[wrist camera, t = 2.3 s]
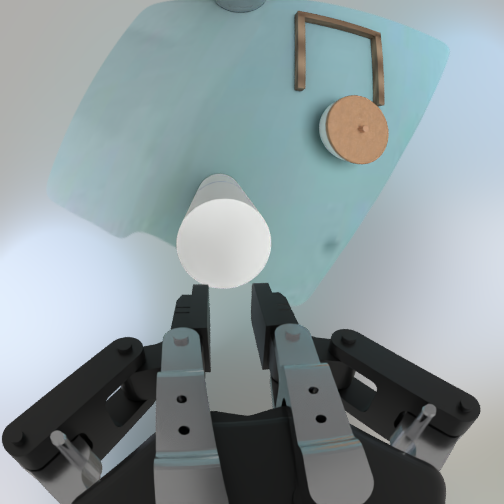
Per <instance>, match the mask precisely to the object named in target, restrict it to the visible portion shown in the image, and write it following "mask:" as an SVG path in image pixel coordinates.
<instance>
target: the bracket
mask: <svg viewBox="0 0 504 504" xmlns="http://www.w3.org/2000/svg"><path fill="white" fill-rule="evenodd" d="M305 22H307V23H312V24H317V25H322V26H326V27H331V28H335V29H338V30H342V31H346V32H350V33H353V34H356V35H360V36H363V37H366V38H369V39H371V51H372V68H373V103H374V104H376V105H377V106H382V105H384V72H383V56H382V44H381V34H380V33H379V32H376V31H373V30H370V29H367V28H364V27H361V26H358V25H355V24H352V23H348V22H345V21H341V20H337V19H334V18H330V17H325V16H321V15H317V14H312V13H307V12H302V11H297V13H296V14H295V90H298V91H302V90H304V89H305V64H306V62H305Z"/></svg>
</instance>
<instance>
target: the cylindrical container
mask: <svg viewBox="0 0 504 504" xmlns="http://www.w3.org/2000/svg"><path fill="white" fill-rule="evenodd" d="M176 247H177V253H178V257H179V260H180V262H181V264H182V266H183V267H184V269H185V270H186V272H187V273H188V274H189V275H190V276H191V277H192V278H193V279H195V280H197V281H198V282H200V283H201V284H208V286H209V287H213V288H221V289H226V288H234V287H237V286H241V285H243V284H245V283H247V282H249V281H251V280H252V279H253V278H254V277H256V276H257V275H258V274H259V273H260V272H261V270H262V269H263V268H264V266H265V264H266V263H267V261H268V258H269V255H270V250H271V235H270V232H269V228H268V226H267V224H266V222H265V220H264V218H263V217H262V216H261V214H260V213H259V212H258V210H257V209H256V207H255V206H254V205H253V203H252V202H251V201H250V199H249V198H248V197H247V195H246V194H245V192H244V191H243V190H242V188H241V187H240V186H239V184H238V183H237V182H236V181H235V180H234V179H233V178H232V177H230V176H228V175H225V174H214V175H211V176H209V177H207V178H206V179H205V180H204V181H203V182H202V183H201V184H200V186H199V188H198V190H197V192H196V194H195V196H194V198H193V201H192V203H191V205H190V207H189V209H188V211H187V213H186V215H185V217H184V220H183V222H182V224H181V226H180V228H179V231H178V235H177V246H176Z"/></svg>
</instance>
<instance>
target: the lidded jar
mask: <svg viewBox="0 0 504 504" xmlns="http://www.w3.org/2000/svg"><path fill="white" fill-rule="evenodd" d="M319 133H320V137H321V140H322V142H323V144H324V146H325V147H326V149H327V150H328V151H329V152H330V153H332V154H333V155H334V156H336V157H337V158H339V159H342V160H344V161H348V162H351V163H355V164H368V163H371V162H373V161H375V160H376V159H378V158H379V157H380V156H381V155H382V153H383V152H384V150H385V148H386V145H387V142H388V126H387V122H386V119H385V117H384V115H383V113H382V111H381V110H380V109H379V108H378V106H377V105H376V104H374V103H373V102H372V101H370V100H369V99H367V98H365V97H362V96H356V95H351V96H346V97H344V98H341V99H339V100H338V101H336V102H334V103H332V104H331V105H330V106H329V107H328V108H326V110H325V111H324V113H323V114H322V116H321V119H320V122H319Z"/></svg>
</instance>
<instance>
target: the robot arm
mask: <svg viewBox="0 0 504 504" xmlns="http://www.w3.org/2000/svg"><path fill="white" fill-rule="evenodd" d="M215 1H216V3H217V4H218V5H219V6H221V7H222V8H224V9H226V10H229V11H233V12H248V11H252V10H255V9H257V8H259V7H260V6H261V5H263V3H264V2H265V0H215ZM251 321H252V326H253V330H254V334H255V339H256V343H257V348H258V352H259V357H260V361H261V365H262V369H263V370H264V369H270V373H271V374H270V389H271V398H272V407H273V409H270V410H268V411H264V412H261V413H257V414H254V415H250V416H244V415H237V414H230V413H224V412H218V411H210V408H209V402H208V396H207V389H206V382H205V372H211V367H210V366H211V363H210V307H209V286H208V284H198V285H193V289H192V295H182V296H181V297H180V298H179V299H178V300H177V302H176V307H175V311H174V316H173V321H172V326H171V330H170V331H168V332H167V333H166V334H165V335H164V337H163V341H162V342H160V343H158V344H155V345H150V346H144V347H143V345H142V343H141V342H140V341H139V340H138V339H136V338H132V337H124V338H120V339H117V340H115V341H113V342H112V343H111V344H109V345H108V346H107V347H105V348H104V349H103V350H102V351H100V352H99V353H98V354H96V355H95V356H94V357H93V358H91V359H90V360H89V361H88V362H86V363H85V364H84V365H82V366H81V367H80V368H79V369H77V370H76V371H75V372H74V373H73V374H71V375H70V376H69V377H67V378H66V379H65V380H63V381H62V382H61V383H60V384H58V385H57V386H56V387H55V388H53V389H52V390H51V391H50V392H48V393H47V394H46V395H45V396H44V397H42V398H41V399H40V400H38V402H36V403H35V404H34V405H32V406H31V407H30V408H29V409H27V410H26V411H25V412H24V413H22V414H21V415H20V416H19V417H17V418H16V419H15V420H14V421H13V422H11V423H10V424H9V425H8V426H7V427H6V428H5V430H4V432H3V435H2V443H3V446H4V448H5V450H6V451H7V452H8V453H9V454H10V455H11V456H12V457H13V458H14V459H15V460H16V461H17V462H18V463H19V464H20V465H21V466H22V467H23V468H24V469H25V470H26V471H27V472H28V473H30V474H31V475H32V476H33V477H34V478H36V479H37V480H38V481H39V482H40V483H41V484H42V485H43V486H44V487H45V489H46V490H48V491H49V493H50V494H51V495H52V496H53V497H54V498H55V499H56V500H57V501H58V502H59V503H60V504H445V499H446V486H445V482H444V479H443V477H442V475H441V473H440V472H439V471H440V470H441V468H442V467H443V465H444V463H445V461H446V460H447V458H448V456H449V455H450V453H451V451H452V449H453V447H454V446H455V444H456V442H457V441H458V440H459V439H460V437H462V435H463V434H464V433H465V432H466V431H467V430H468V429H469V427H470V426H471V425H472V424H473V423H474V421H475V420H476V419H477V418H478V416H479V414H480V405H479V403H478V401H477V400H476V399H475V398H474V397H473V396H472V395H470V394H468V393H466V392H464V391H463V390H461V389H459V388H456V387H455V386H453V385H451V384H449V383H448V382H446V381H444V380H442V379H440V378H439V377H437V376H435V375H433V374H431V373H429V372H428V371H426V370H424V369H422V368H420V367H419V366H417V365H415V364H413V363H411V362H410V361H408V360H406V359H404V358H402V357H401V356H399V355H397V354H395V353H394V352H392V351H390V350H388V349H386V348H385V347H383V346H381V345H379V344H378V343H376V342H374V341H372V340H370V339H369V338H367V337H365V336H364V335H362V334H360V333H358V332H356V331H353V330H349V329H341V330H337V331H335V332H334V333H333V334H332V336H331V339H325V338H316V337H313V336H311V334H310V332H309V330H308V329H307V328H305V327H303V326H301V325H299V324H298V322H297V320H296V318H295V316H294V313H293V312H292V310H291V307H290V305H289V303H288V301H287V299H286V297H285V296H283V295H282V294H281V293H279V292H276V293H272V291H271V289H270V286H269V284H268V283H253V284H252V300H251ZM356 371H357V372H358V373H360V374H362V375H363V376H365V377H366V378H368V379H369V380H371V381H372V382H374V383H375V385H376V387H377V392H376V391H374V390H373V389H371V388H370V387H368V386H367V385H365V384H364V383H362V382H361V381H359V380H357V379H356V378H354V375H355V372H356ZM119 386H121V388H120V389H119V390H118V391H117V392H116V393H115V394H113V395H112V396H111V397H110V398H109V399H108V400H107V398H108V397H109V396H110V395H111V394H112V393H113V392H114V391H115V390H117V388H119ZM106 400H107V401H106ZM155 401H156V432H155V433H154V434H153V435H152V436H150V437H149V438H148V439H147V440H146V441H145V442H144V443H143V444H141V445H140V446H139V447H138V448H137V449H136V450H135V451H134V452H132V453H131V454H130V455H129V456H128V457H126V458H125V459H124V460H123V461H122V462H120V463H119V464H118V465H117V466H116V467H114V468H113V469H112V470H111V471H109V472H108V473H107V474H106V475H105V476H103V477H102V478H101V479H100V475H101V473H102V464H101V460H102V459H103V458H104V457H105V456H106V455H107V454H108V453H109V452H110V450H111V449H112V448H113V447H114V446H115V445H116V444H117V443H118V442H119V441H120V440H121V439H122V438H123V437H124V436H125V434H126V433H127V432H128V431H129V430H130V429H131V428H132V427H133V426H134V425H135V424H136V422H137V421H138V420H139V419H140V418H141V417H142V416H143V415H144V414H145V413H146V411H147V410H148V409H149V408H150V407H151V406H152V405H153V404H154V402H155ZM345 411H347V412H348V413H349V414H351V415H352V416H354V417H355V418H356V419H358V420H359V421H361V422H362V423H363V424H365V425H366V426H368V427H369V428H371V429H372V430H374V431H375V432H376V433H378V434H379V435H381V436H382V437H384V438H385V439H387V440H388V441H390V445H389V444H387V443H385V442H383V441H381V440H379V439H377V438H375V437H373V436H371V435H370V434H368V433H366V432H364V431H362V430H360V429H359V428H357V427H355V426H353V425H351V424H350V423H349V421H348V418H347V415H346V412H345Z"/></svg>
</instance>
